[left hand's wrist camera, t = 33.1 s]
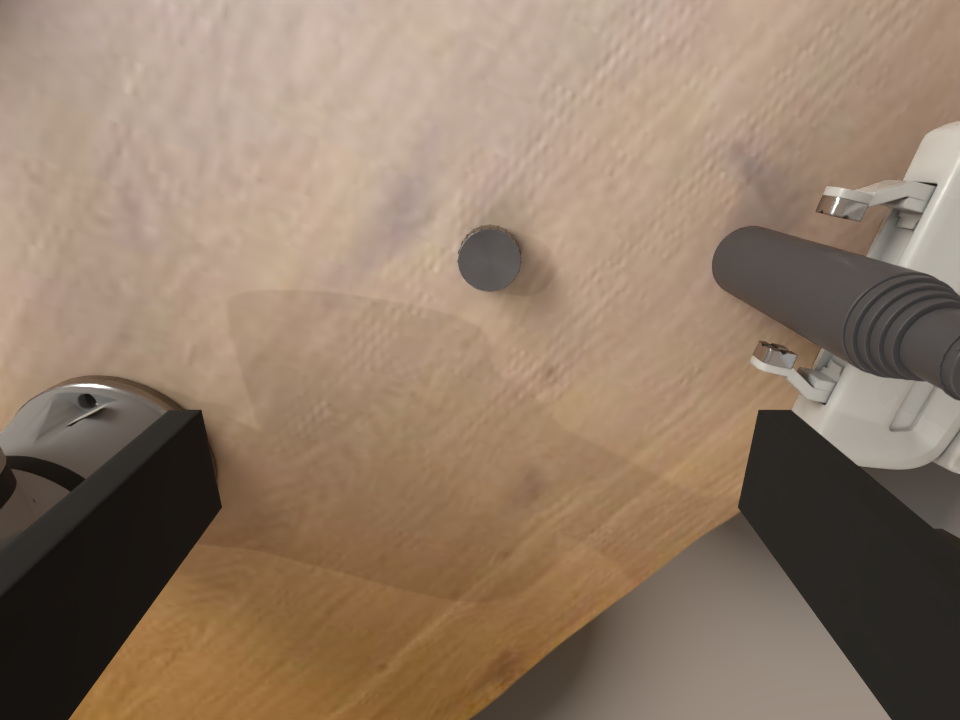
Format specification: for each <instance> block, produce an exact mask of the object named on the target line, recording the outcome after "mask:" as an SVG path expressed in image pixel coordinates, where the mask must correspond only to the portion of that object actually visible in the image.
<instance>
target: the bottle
mask: <svg viewBox="0 0 960 720" xmlns="http://www.w3.org/2000/svg"><path fill="white" fill-rule="evenodd" d="M712 271H713V275H714V278H715V280H716V282H717V283H718V285H719V286H720V287H721V288H722V289H724V290H725V291H727V292H729V293H730V294H732V295H734V296H735V297H737V298H739V299H740V300H742V301H744V302H746V303H747V304H749V305H751V306H752V307H754V308H756V309H757V310H759V311H761V312H762V313H764V314H766V315H768V316H769V317H771V318H773V319H774V320H776V321H778V322H779V323H781V324H783V325H784V326H786V327H788V328H790V329H791V330H793V331H795V332H796V333H798V334H800V335H801V336H803V337H805V338H806V339H808V340H810V341H812V342H813V343H815V344H817V345H818V346H820V347H822V348H823V349H825V350H827V351H828V352H830V353H832V354H834V355H835V356H837V357H839V358H840V359H842V360H844V361H845V362H847V363H849V364H850V365H852V366H854V367H856V368H857V369H859V370H861V371H863V372H866V373H869V374H872V375H875V376H878V377H883V378H893V379H903V380H914V381H921V382H925V381H927V382H929V383H930V384H932V385H934V386H936V387H938V388H940V389H942V390H943V391H944V392H945V393H946V394H947V395H949V396H950V397H952V398H953V399H955V400H958V401H960V295H958V294H957V293H956V292H955V291H954V290H953V288H951V287H950V286H949V285H948V284H946V283H944V282H943V281H940V280H939V279H937V278H935V277H934V276H931V275H929V274H926V273H922V272H919V271H915V270H912V269H908V268H905V267H901V266H898V265H894V264H890V263H887V262H883V261H880V260H876V259H873V258H869V257H866V256H862V255H859V254H855V253H851V252H848V251H844V250H841V249H837V248H834V247H830V246H827V245H823V244H820V243H816V242H812V241H809V240H805V239H802V238H798V237H795V236H791V235H788V234H784V233H781V232H777V231H773V230H770V229H766V228H763V227H758V226H749V227H744V228H740V229H738V230H736V231H734V232H732V233H731V234H729V235H728V236H727V237H726V238H725V239H724V240H723V241H722V242H721V243H720V245H719V246H718V248H717V249H716V251H715V254H714V257H713V262H712Z"/></svg>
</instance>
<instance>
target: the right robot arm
mask: <svg viewBox="0 0 960 720" xmlns="http://www.w3.org/2000/svg"><path fill="white" fill-rule="evenodd" d="M875 205H881V206H885V207H889V210H888V212H887V214H886V216H885V218H884V220H883V222H882V224H881V226H880V228H879V230H878V232H877V234H876V236H875V239H874V241H873V243H872V245H871V247H870V249H869V251H868V253H867V255H866V257H869V258H873V259H876V260H880V261H883V262H887V263H890V264H894V265H898V266H901V267H905V268H908V269H912V270H915V271H919V272H922V273H926V274H929V275H931V276H934V277H935V278H937V279H939V280H940V281H943V282H944V283H946V284H948V285H949V286H950V287H951V288H953V290H954V291H955V292H956V293H957V294H958V295H960V121H955V122H951V123H948V124H945V125H943V126H941V127H939V128H937V129H934V130H932V131H930V132H929V133H927V134H926V135H925V137H924V138H923V140H922V142H921V143H920V145H919V148H918V150H917V152H916V154H915V156H914V158H913V160H912V162H911V164H910V166H909V168H908V170H907V172H906V175H905V177H904V179H903V181H900V180H884V181H881V182H878V183H875V184H872V185H869V186H866V187H863V188H859V189H856V190H851V189H846V188H840V187H831V186H827V187H826V189H825V191H824V193H823V196H822V198H821V200H820V203H819V205H818V207H817V209H816V212H817V213H821V214H826V215H830V216H834V217H839V218H843V219H849V220H853V221H859V222H860V221H861V219H862V217H863V215H864V213H865V211H866V209H867V207H871V206H875ZM796 358H797V355H796V354H795V353H793V352H792V351H788V349H787V348H786V347H784V346H783V345H779V344H774V343H772V344H769V343H767V342H765V341H759V342H758V344H757V347H756V349H755V351H754V353H753V355H752V358H751V360H750V363H751V364H753V365H754V366H755V367H756V368H758V369H760V370H762V371H764V372H768V373H772V374H777V375H780V376H781V377H782V378H783V379H784V380H785V381H786V382H787V383H788V384H789V385H790V386H791V387H792V388H794V389H795V390H796V391H798V392H799V395H798V397H797V400H796V402H795V404H794V406H793V408H792V411H793V412H794V413H795V414H797V415H798V416H799V417H800V418H801V419H803V420H804V421H805V422H806V423H807V424H809V425H810V426H811V427H812V428H813V429H815V430H816V431H817V432H818V433H819V434H821V435H822V436H823V437H824V438H825V439H827V440H828V441H829V442H830V443H831V444H833V445H834V446H835V447H836V448H837V449H839V450H840V451H841V452H842V453H843V454H845V455H846V456H847V457H848V458H849V459H851V460H852V461H853V462H854V463H855V464H857V465H858V466H863V467H872V468H883V469H912V468H917V467H921V466H923V465H926V464H928V463H930V462H934V463H936V464H938V465H940V466H942V467H944V468H946V469H948V470H950V471H952V472H955V473H958V474H960V401H958V400H955V399H953V398H952V397H950V396H949V395H947V394H946V393H945V392H944V391H943V390H942V389H940V388H938V387H936V386H934V385H932V384H930V383H929V382H927V381H925V382H921V381H914V380H903V379H893V378H883V377H878V376H875V375H872V374H869V373H866V372H863V371H861V370H859V369H857V368H856V367H854V366H852V365H850V364H849V363H847V362H845V361H844V360H842V359H840V358H839V357H837V356H835V355H834V354H832V353H830V352H828V351H827V350H825V349H823V348H821V350H820V352H819V354H818V356H817V358H816V360H815V362H814V364H813V367H812V369H808V368H803V367H800V368H798V370H797V371H796V370H795V369H794V368H793V365H794V362H795V360H796Z"/></svg>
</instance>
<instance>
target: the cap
mask: <svg viewBox="0 0 960 720" xmlns="http://www.w3.org/2000/svg"><path fill="white" fill-rule="evenodd" d="M518 246H519V245H518V242H516V241H515V239H514V237H513V235H511V234H510V233H509V232H508V231H507V230H505V229H503V228H501V227H499V226H498V227H497V226H492V225H487V226H481V227H479V228H476V229H473V231H472V232H470V233H469V234H467V235H466V238H465V239H464V241H462V243H461V248H460V249H459V252H458V254H459V257H458V264H459V270H460V272H461V274H462V276H463V278H464V279H465V280H466V282H467V283H468V284H470V285H471V286H472V287H474V288H476V289H478V290H481V291H487V292H492V291H498V290H501V289H503V288H505V287H507V286H508V285H509V284H510V283H512V282H513V280H514V279H515V278H516V276H517V274H518V272H519V269H520V265H521V252H520V250H519V248H518Z"/></svg>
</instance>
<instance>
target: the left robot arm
mask: <svg viewBox="0 0 960 720" xmlns="http://www.w3.org/2000/svg"><path fill="white" fill-rule="evenodd" d="M216 479H217V477H216V465H215V460H214V456H213V453H212V451H211V448H210V446H209V444H208V439H207V434H206V430H205V425H204V420H203V416H202V411H201V410H182V409H181V408H180V407H179V406H178V405H176V404H175V403H174V402H173V401H171V400H170V399H168V398H167V397H165V396H164V395H162V394H160V393H159V392H157V391H155V390H153V389H151V388H149V387H147V386H144V385H142V384H139V383H136V382H133V381H130V380H127V379H122V378H118V377H111V376H83V377H77V378H73V379H69V380H67V381H64V382H61V383H59V384H57V385H55V386H53V387H51V388H50V389H48V390H46V391H44V392H42V393H40V394H39V395H37V396H35V397H34V398H32V399H30V400H29V401H28V402H27V403H25V404H24V405H23V406H22V407H21V408H20V410H19V411H18V412H17V413H16V415H15V416H14V417H13V419H12V420H11V421H10V422H9V424H8V425H7V426H6V428H5V429H4V430H3V431H2V433H1V434H0V720H68V719H69V718H70V717H71V715H72V714H73V712H74V711H75V710H76V708H77V707H78V706H79V704H80V703H81V701H82V700H83V699H84V697H85V696H86V694H87V693H88V692H89V690H90V689H91V688H92V686H93V685H94V683H95V682H96V681H97V679H98V678H99V677H100V675H101V674H102V672H103V671H104V670H105V668H106V667H107V665H108V664H109V663H110V661H111V660H112V659H113V657H114V656H115V654H116V653H117V652H118V650H119V649H120V647H121V646H122V645H123V643H124V642H125V641H126V639H127V638H128V636H129V635H130V634H131V632H132V631H133V630H134V628H135V627H136V625H137V624H138V623H139V621H140V620H141V618H142V617H143V616H144V614H145V613H146V612H147V610H148V609H149V607H150V606H151V605H152V603H153V602H154V600H155V599H156V598H157V596H158V595H159V594H160V592H161V591H162V589H163V588H164V587H165V585H166V584H167V583H168V581H169V580H170V578H171V577H172V576H173V574H174V573H175V571H176V570H177V569H178V567H179V566H180V565H181V563H182V562H183V560H184V559H185V558H186V556H187V555H188V553H189V552H190V551H191V549H192V548H193V547H194V545H195V544H196V542H197V541H198V540H199V538H200V537H201V536H202V534H203V533H204V531H205V530H206V529H207V527H208V526H209V524H210V523H211V522H212V520H213V519H214V518H215V516H216V515H217V513H218V512H219V511H220V509H221V508H222V505H221V500H220V496H219V491H218V486H217V482H216ZM738 508H739V509H740V511H741V512H742V513H743V515H744V516H745V517H746V519H747V520H748V522H749V523H750V524H751V526H752V527H753V529H754V530H755V531H756V533H757V534H758V536H759V537H760V538H761V540H762V541H763V542H764V544H765V545H766V547H767V548H768V549H769V551H770V552H771V553H772V555H773V556H774V558H775V559H776V560H777V562H778V563H779V564H780V566H781V567H782V569H783V570H784V571H785V573H786V574H787V576H788V577H789V578H790V580H791V581H792V583H793V584H794V585H795V587H796V588H797V589H798V591H799V592H800V594H801V595H802V596H803V598H804V599H805V600H806V602H807V603H808V605H809V606H810V607H811V609H812V610H813V612H814V613H815V614H816V616H817V617H818V618H819V620H820V621H821V623H822V624H823V625H824V627H825V628H826V630H827V631H828V632H829V634H830V635H831V636H832V638H833V639H834V641H835V642H836V643H837V645H838V646H839V647H840V649H841V650H842V652H843V653H844V654H845V656H846V657H847V659H848V660H849V661H850V663H851V664H852V665H853V667H854V668H855V670H856V671H857V672H858V674H859V675H860V677H861V678H862V679H863V681H864V682H865V683H866V685H867V686H868V688H869V689H870V690H871V692H872V693H873V694H874V696H875V697H876V699H877V700H878V701H879V703H880V704H881V706H882V707H883V708H884V710H885V711H886V712H887V714H888V715H889V717H890V718H891V719H892V720H960V538H958V537H956V536H954V535H952V534H950V533H949V532H947V531H945V530H943V529H933V528H932V527H931V526H930V525H929V524H927V523H926V522H925V521H924V520H923V519H921V518H920V517H919V516H918V515H917V514H915V513H914V512H913V511H912V510H910V509H909V508H908V507H907V506H906V505H904V504H903V503H902V502H901V501H900V500H899V499H897V498H896V497H895V496H894V495H893V494H891V493H890V492H889V491H888V490H887V489H885V488H884V487H883V486H882V485H881V484H879V483H878V482H877V481H876V480H875V479H873V478H872V477H871V476H870V475H869V474H867V473H866V472H865V471H864V470H863V469H861V468H860V467H859V466H858V465H857V464H855V463H854V462H853V461H852V460H851V459H849V458H848V457H847V456H846V455H845V454H843V453H842V452H841V451H840V450H839V449H837V448H836V447H835V446H834V445H833V444H831V443H830V442H829V441H828V440H827V439H825V438H824V437H823V436H822V435H821V434H819V433H818V432H817V431H816V430H815V429H813V428H812V427H811V426H810V425H809V424H807V423H806V422H805V421H804V420H803V419H801V418H800V417H799V416H798V415H797V414H795V413H794V412H793V411H792V410H759V411H758V416H757V420H756V425H755V430H754V434H753V439H752V444H751V449H750V453H749V458H748V463H747V467H746V472H745V477H744V482H743V486H742V491H741V496H740V500H739V505H738Z"/></svg>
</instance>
